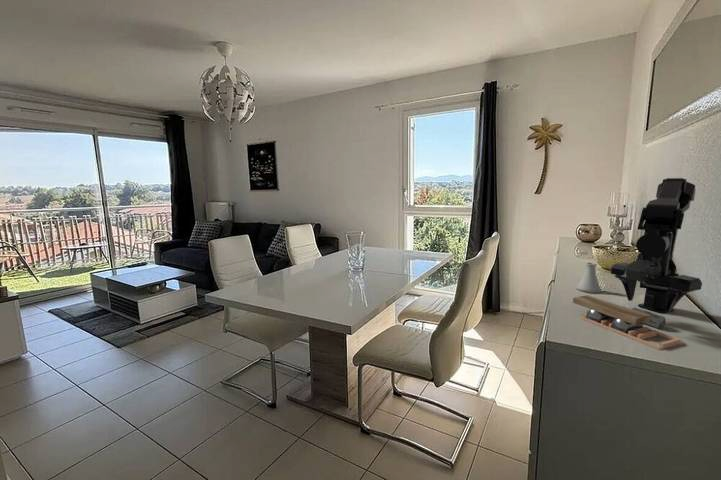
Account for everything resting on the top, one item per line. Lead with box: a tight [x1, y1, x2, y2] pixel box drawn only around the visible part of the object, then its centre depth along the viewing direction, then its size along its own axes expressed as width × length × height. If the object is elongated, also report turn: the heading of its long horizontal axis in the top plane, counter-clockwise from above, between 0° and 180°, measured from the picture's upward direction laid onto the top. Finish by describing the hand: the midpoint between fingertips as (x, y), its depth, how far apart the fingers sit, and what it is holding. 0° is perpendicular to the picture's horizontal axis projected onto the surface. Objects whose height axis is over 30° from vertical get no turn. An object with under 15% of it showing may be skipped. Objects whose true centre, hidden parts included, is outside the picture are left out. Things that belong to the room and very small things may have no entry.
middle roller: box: [612, 319, 644, 333], centre depth 90 cm, size 7×4×4 cm, turn 110°
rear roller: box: [585, 309, 614, 323], centre depth 97 cm, size 7×4×4 cm, turn 110°
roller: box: [631, 307, 667, 330], centre depth 94 cm, size 4×7×4 cm, turn 20°
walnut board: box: [572, 294, 651, 325], centre depth 95 cm, size 6×17×2 cm, turn 21°
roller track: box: [580, 313, 685, 351], centre depth 90 cm, size 9×20×1 cm, turn 20°
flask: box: [576, 262, 602, 294], centre depth 122 cm, size 7×7×10 cm
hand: (648, 306), depth 93 cm, fingers open, 9 cm apart
